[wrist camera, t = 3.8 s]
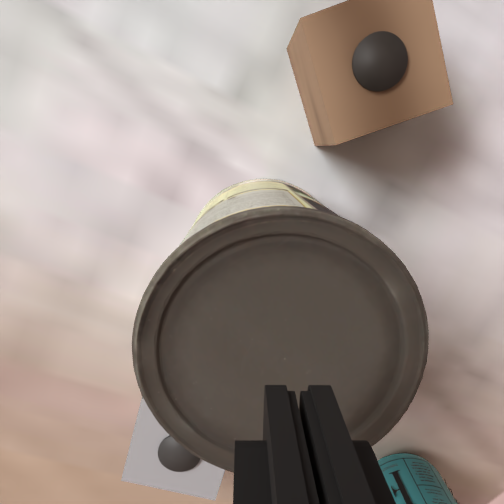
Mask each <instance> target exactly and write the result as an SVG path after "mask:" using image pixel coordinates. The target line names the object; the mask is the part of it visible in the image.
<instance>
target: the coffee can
mask: <svg viewBox="0 0 504 504" xmlns="http://www.w3.org/2000/svg"><path fill="white" fill-rule="evenodd" d="M427 354H428V323H427V316H426V312H425V308H424V305H423V301H422V298H421V295H420V293H419V290H418V287H417V285H416V283H415V281H414V280H413V278H412V276H411V275H410V273H409V271H408V270H407V268H406V267H405V265H404V264H403V263H402V262H401V260H400V259H399V258H398V257H397V256H396V255H395V253H394V252H393V251H392V250H391V249H390V248H388V247H387V246H386V245H385V244H384V243H383V242H382V241H381V240H380V239H378V238H377V237H376V236H374V235H373V234H371V233H370V232H369V231H367V230H366V229H364V228H362V227H361V226H359V225H357V224H355V223H353V222H351V221H349V220H347V219H344V218H342V217H340V216H338V215H337V214H335V213H334V212H332V211H331V210H329V209H328V208H326V207H325V206H323V205H322V204H320V203H319V202H318V201H317V200H315V199H314V198H313V197H312V196H311V195H309V194H308V193H307V192H305V191H304V190H302V189H300V188H298V187H296V186H294V185H292V184H289V183H286V182H284V181H279V180H273V179H255V180H249V181H244V182H241V183H238V184H235V185H233V186H230V187H228V188H226V189H224V190H223V191H221V192H220V193H218V194H217V195H216V196H215V197H214V198H212V199H211V200H210V201H209V202H208V203H207V204H206V205H205V207H204V208H203V209H202V211H201V212H200V213H199V215H198V217H197V219H196V221H195V223H194V225H193V226H192V228H191V229H190V230H189V232H188V234H187V235H186V237H185V238H184V240H183V241H182V243H181V244H180V246H179V247H178V248H177V249H176V250H175V251H174V252H173V253H172V254H171V255H170V256H169V257H168V258H167V259H166V260H165V261H164V262H163V264H162V265H161V266H160V268H159V269H158V270H157V272H156V273H155V275H154V276H153V278H152V280H151V282H150V283H149V285H148V287H147V289H146V290H145V292H144V295H143V297H142V300H141V302H140V305H139V308H138V311H137V314H136V318H135V322H134V328H133V336H132V355H133V366H134V371H135V375H136V379H137V383H138V386H139V388H140V391H141V394H142V397H143V398H144V400H145V402H146V404H147V406H148V408H149V409H150V411H151V412H152V414H153V416H154V417H155V418H156V420H157V421H158V423H159V424H160V425H161V426H162V427H163V429H164V430H165V431H166V432H167V433H168V434H169V435H170V436H171V437H172V438H173V439H174V440H175V441H176V442H178V443H179V444H180V445H181V446H183V447H184V448H185V449H186V450H188V451H189V452H190V453H192V454H193V455H195V456H197V457H198V458H200V459H202V460H204V461H206V462H208V463H210V464H212V465H214V466H217V467H219V468H221V469H224V470H228V471H231V472H234V453H235V440H263V415H264V387H265V385H286V386H287V391H295V394H296V399H297V403H298V408H299V402H300V392H301V391H307V390H308V386H309V385H331V387H332V389H333V392H334V395H335V397H336V400H337V403H338V405H339V408H340V411H341V413H342V416H343V419H344V421H345V424H346V427H347V429H348V432H349V434H350V437H351V440H366V441H368V442H369V444H370V445H371V447H372V446H373V445H374V444H376V443H377V442H378V441H379V440H381V439H382V438H383V437H384V436H385V435H386V434H387V433H388V432H390V430H391V429H392V428H393V427H394V426H395V425H396V424H397V423H398V421H399V420H400V419H401V417H402V416H403V414H404V413H405V412H406V410H407V409H408V407H409V405H410V403H411V402H412V400H413V398H414V396H415V394H416V392H417V389H418V387H419V385H420V382H421V380H422V377H423V372H424V369H425V365H426V362H427Z"/></svg>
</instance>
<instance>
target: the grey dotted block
mask: <svg viewBox="0 0 504 504" xmlns="http://www.w3.org/2000/svg"><path fill="white" fill-rule="evenodd" d="M224 472H225V470H224V469H221V468H219V467H217V466H214V465H212V464H210V463H208V462H206V461H204V460H202V459H200V458H198V457H197V456H195V455H193V454H192V453H190V452H189V451H188V450H186V449H185V448H184V447H183V446H181V445H180V444H179V443H178V442H176V441H175V440H174V439H173V438H172V437H171V436H170V435H169V434H168V433H167V432H166V431H165V430H164V429H163V427H162V426H161V425H160V424H159V423H158V421H157V420H156V418H155V417H154V416H153V414H152V412H151V411H150V409H149V408H148V406H147V404H146V402H145V400H144V398H143V397H142V399H141V403H140V407H139V411H138V415H137V419H136V423H135V427H134V431H133V435H132V439H131V443H130V447H129V451H128V455H127V459H126V463H125V467H124V471H123V475H122V479H121V481H125V482H130V483H135V484H140V485H144V486H149V487H154V488H158V489H163V490H168V491H172V492H177V493H182V494H187V495H191V496H196V497H201V498H205V499H210V500H215V499H216V496H217V493H218V490H219V487H220V484H221V481H222V478H223V475H224Z"/></svg>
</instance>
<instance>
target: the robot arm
mask: <svg viewBox="0 0 504 504" xmlns="http://www.w3.org/2000/svg"><path fill="white" fill-rule="evenodd" d="M233 504H396V502H395V500H394V498H393V496H392V493H391V491H390V489H389V486H388V484H387V482H386V479H385V477H384V475H383V473H382V470H381V468H380V466H379V463H378V461H377V459H376V456H375V454H374V452H373V449H372V447H371V445H370V444H369V442H368V441H366V440H351V437H350V434H349V432H348V429H347V427H346V424H345V421H344V419H343V416H342V413H341V411H340V408H339V405H338V403H337V400H336V397H335V395H334V392H333V389H332V387H331V385H309V386H308V390H307V391H301V392H300V402H299V408H298V403H297V399H296V394H295V391H287V386H286V385H265V387H264V415H263V440H235V453H234V494H233Z"/></svg>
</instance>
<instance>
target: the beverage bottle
mask: <svg viewBox="0 0 504 504" xmlns="http://www.w3.org/2000/svg"><path fill="white" fill-rule="evenodd" d="M378 463H379V466H380V468H381V470H382V473H383V475H384V477H385V479H386V482H387V484H388V486H389V489H390V491H391V493H392V496H393V498H394V500H395V502H396V504H457V500H455V499H454V497H453V494H451V492H452V491H451V492H450V489H448V488H449V487H447V486H446V484H445V482H446V481H445V482H444V481H443V479H442V477H441V476H440V474H439V472H438V471H437V470H436V468H435V467H434V466H433V465H431V464H430V463H429V462H428V461H427V460H425V459H424V458H422V457H420V456H417V455H414V454H408V453H400V454H393V455H389V456H386V457H384V458H382V459H380V460H378ZM447 484H448V483H447Z"/></svg>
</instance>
